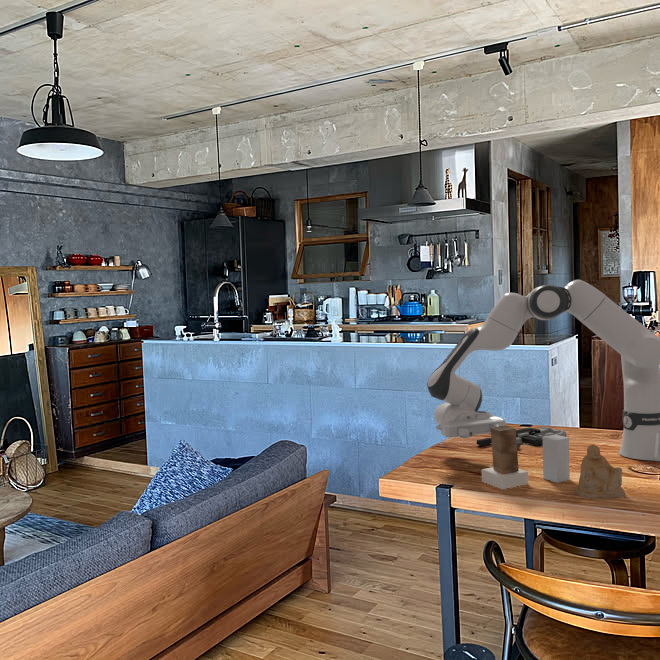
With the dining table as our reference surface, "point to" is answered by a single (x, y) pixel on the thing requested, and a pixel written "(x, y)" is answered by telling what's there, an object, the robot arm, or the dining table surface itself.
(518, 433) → the toy gun
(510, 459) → the walnut block
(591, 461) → the statue
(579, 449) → the dining table surface
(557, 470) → the grey block
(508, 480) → the cream base
